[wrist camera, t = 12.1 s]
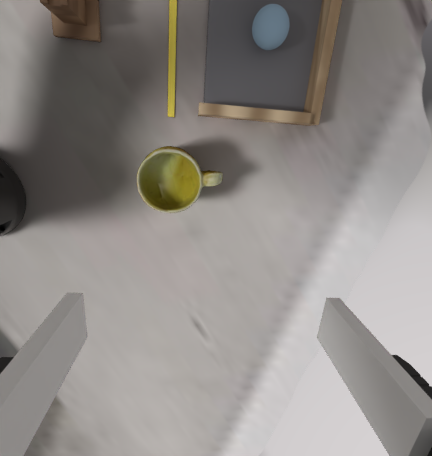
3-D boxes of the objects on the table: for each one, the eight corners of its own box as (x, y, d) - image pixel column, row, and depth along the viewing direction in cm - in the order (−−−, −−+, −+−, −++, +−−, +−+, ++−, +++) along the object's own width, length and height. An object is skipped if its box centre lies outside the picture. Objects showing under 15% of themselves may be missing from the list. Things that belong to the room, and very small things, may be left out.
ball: (244, 44, 35) (281, 40, 33) (249, -1, 33) (287, -8, 31) (256, 56, 39) (289, 53, 37) (260, 16, 38) (295, 11, 36)
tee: (56, 36, 36) (28, 16, 30) (50, -17, 34) (19, -51, 28) (101, 41, 37) (82, 22, 30) (98, -11, 35) (77, -43, 29)
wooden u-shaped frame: (198, 115, 41) (198, 113, 37) (207, -77, 33) (209, -101, 30) (309, 125, 43) (318, 124, 39) (341, -56, 35) (356, -76, 32)
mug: (132, 210, 43) (133, 208, 34) (139, 148, 43) (141, 129, 33) (203, 218, 47) (221, 218, 37) (209, 162, 47) (229, 148, 37)
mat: (203, 105, 40) (203, 105, 40) (212, -61, 34) (213, -64, 34) (301, 115, 42) (302, 114, 42) (328, -43, 36) (329, -45, 35)
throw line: (167, 116, 40) (167, 116, 40) (170, -89, 33) (170, -90, 33) (174, 117, 41) (174, 117, 40) (178, -87, 33) (178, -88, 33)
